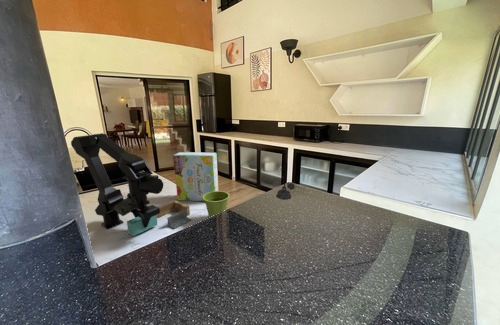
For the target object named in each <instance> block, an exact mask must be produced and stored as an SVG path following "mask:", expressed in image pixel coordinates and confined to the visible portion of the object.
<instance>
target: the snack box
mask: <svg viewBox="0 0 500 325" xmlns="http://www.w3.org/2000/svg"><path fill="white" fill-rule="evenodd" d="M217 154H218V153H217V152H200V151H199V152H197V151H195V152H192V151H191V152H183V151H182V152H181V151H180V152H177V153H175V154H173V155H172V157H173V166H174V168H173V169H174V176H175V186H176V195H177V201H189V202H190V201H191V202H192V201H193V202H195V201H196V202H205V201H204V199H203V195H205V194H206V193H209V192H213V191H219V174H218V155H217Z"/></svg>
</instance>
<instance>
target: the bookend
mask: <svg viewBox="0 0 500 325" xmlns="http://www.w3.org/2000/svg"><path fill="white" fill-rule="evenodd" d="M166 219H167V227H169V228H170V229H172V230H175V229H179V228H180V227H182V226H183V225H186V224H188V223H189V222H191V221H192V218H190V217H188V216H187V211H186V210H183V211H181V212H177V213H174V214H172V215H171V216H168V217H167V218H166Z"/></svg>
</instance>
